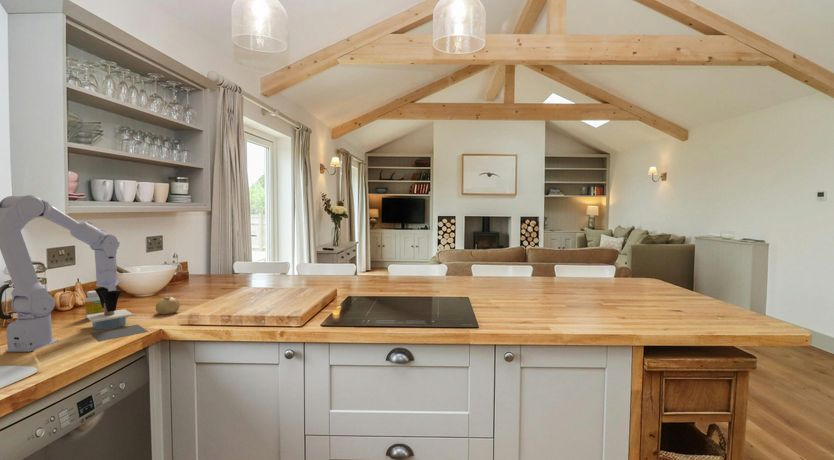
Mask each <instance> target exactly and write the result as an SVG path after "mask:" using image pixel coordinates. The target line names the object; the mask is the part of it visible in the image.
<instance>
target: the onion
mask: <svg viewBox="0 0 834 460" xmlns="http://www.w3.org/2000/svg"><path fill="white" fill-rule="evenodd" d="M180 306H181V304H180V301H179V300H178V299H177V298H175V297H172V296H164V297H162V298H161V299H159V300H158V301H157V302H156V305H155V311H156V313H158V315H164V316H165V315H171V314H175V313H177V312H178V311H179V310H180Z"/></svg>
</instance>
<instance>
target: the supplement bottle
mask: <svg viewBox="0 0 834 460" xmlns="http://www.w3.org/2000/svg"><path fill="white" fill-rule="evenodd" d="M86 296H87V297H86V298H85V299H84V305H85V318H86V319H87V320H89V319H88V318H87V317H86V315H91V314H97V313H103V312H104V308H102V305H101V302H100V299H99V296H98V294H97V293H96V291H95V290H89V291H87V292H86Z"/></svg>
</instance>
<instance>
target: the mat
mask: <svg viewBox="0 0 834 460" xmlns="http://www.w3.org/2000/svg"><path fill="white" fill-rule="evenodd" d="M148 332H149V331H148V330H147V329H145V328H144V327H142V326H141V325H139V324H132V325H127V326H123V327H122V326H120V327H115V328H109V329H104V330H100V331H99V330H98V331H95V332H90V333H89V334H90V335H91V336H92V337H93V338H94V339H95V341H97V342H99V343H100V342H105V341H110V340H114V339H119V338H124V337H128V336H134V335H138V334H145V333H148Z"/></svg>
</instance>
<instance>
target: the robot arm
mask: <svg viewBox="0 0 834 460" xmlns="http://www.w3.org/2000/svg"><path fill="white" fill-rule="evenodd" d="M36 218H42V219H45V220H47V221H50V222H52V223H54V224H56V225H58V226H60V227H62V228H64V229H67V230H69V231H70V232H69V233H70V236H71V237H73V238H75V239H77V240H79V241H81V242H83V243H85V244H86V245H89V247H90V249H91V250H92V251H94V263H95V276H96V277H95V278H96V279H95V280H96V283H95V287H97V288H94V290H93V291H96V293H97V294H98V296H99V299H100V302H101V305H102V308H104V303H105V305H106V309H107V311H108V312H111V311H115V310H117V305H118V300H119V297H120V295H121V293H122V289H117V286H118V285H119V284H122V283H123V280H118V270H117V269H118V268H117V267H118V266H117V250H118V249H119V247H120V244H121V243H120V241H118V238H117V237H116V236H115V235H113V234H106V231H105V230H103V229H99V228H97V227H95V226H94V225H93V222H91V221H85V220H84V221H83V220H82V221H77V220H76V219H74V218H73V217H71V216H69V215H68V214H67V213H64V212H63V211H62V210H60V209H58V208H57V207H55V206H53V205H52V204H51V203H50V202H49V201H47V200H44V199H41V198H40V197H39V196H36V195H32V194H30V195H29V194H27V195H21V196H20V195H19V196H18V195H17V196H16V195H11V196H10V195H9V196H6V197H4V198H2V199H1V200H0V252H1V256H2V259H3V261H4V263H5V267H6V268H7V271H8V273H9V276H10V279H11V282H12V285H13V286H14V287H13V289H12V290H11V292H10V293H11V294H10V295H11V298H12V299H11V309H12V311H13V312H15V313H16V314H17V316H16V320H15V321H12V322H10V323H9V324H8V325H7V327H6V332H5V333H6V345H7V349H5V352H7V353H8V352H9V353H10V352H15V353H16V352H17V353H19V352H20V353H23V352H26V353H27V352H28V353H29V352H33V351H35V350H38V349H41V348H43V347H46V346H49V345H53V344H56V343H58V342H60V341H61V339H53V329H52V328H53V327H52V315H51V312H52V311H53V310H54V308H55V306H56V300H55V298H54V297H53V296H52V295H50V294H49V292H48V289H47V287H45V286H44V285H43V284H42V283H41V282H40V281H39V278H38V276H37V273H36V270H35V267H34V264H33V262H32V258H31V256H30V253H29V250H28V247H27V245H26V242H25V239H24V237H23V233H22V229H24V228H25V227H26V225H27V224H28V223H29V222H31V221H32V220H34V219H36Z"/></svg>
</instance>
